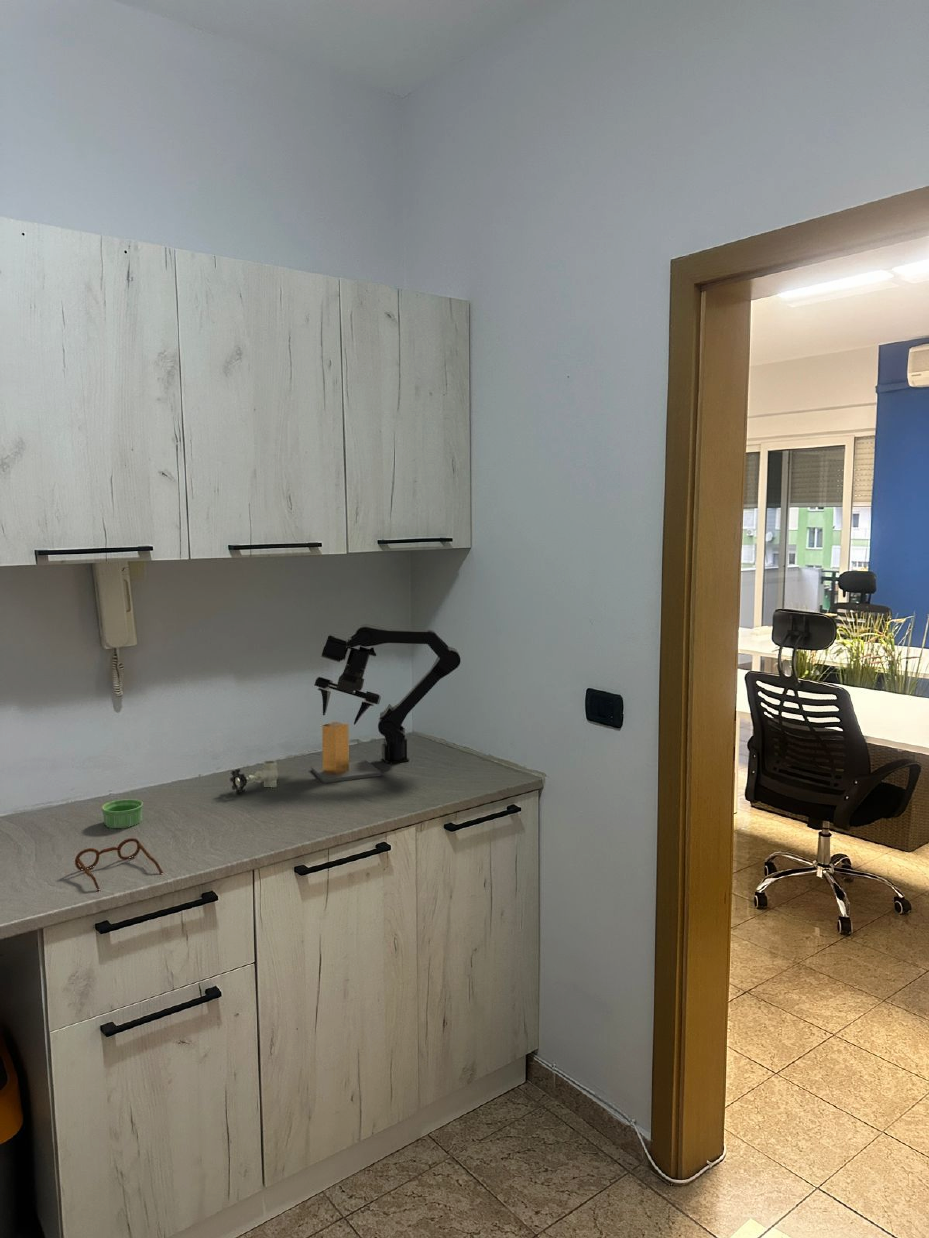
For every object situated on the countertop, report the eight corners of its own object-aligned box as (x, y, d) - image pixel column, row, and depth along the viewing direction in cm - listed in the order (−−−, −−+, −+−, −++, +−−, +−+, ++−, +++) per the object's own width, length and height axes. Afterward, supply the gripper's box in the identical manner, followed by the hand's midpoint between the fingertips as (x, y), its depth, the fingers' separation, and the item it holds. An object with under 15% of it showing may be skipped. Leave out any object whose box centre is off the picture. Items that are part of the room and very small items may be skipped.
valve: (270, 781, 239) (230, 791, 231) (269, 758, 238) (229, 766, 230) (283, 787, 234) (243, 797, 226) (283, 763, 234) (242, 772, 225)
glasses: (139, 857, 188) (138, 834, 188) (164, 876, 179) (163, 852, 178) (74, 873, 180) (73, 850, 179) (97, 895, 170) (96, 870, 169)
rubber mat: (365, 763, 256) (365, 760, 256) (381, 775, 244) (381, 772, 244) (311, 770, 249) (311, 766, 249) (324, 783, 238) (324, 779, 238)
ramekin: (98, 831, 202) (98, 812, 202) (106, 817, 211) (105, 800, 210) (140, 828, 204) (139, 810, 203) (146, 815, 213) (145, 797, 212)
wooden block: (336, 767, 249) (335, 721, 247) (348, 770, 246) (348, 724, 244) (323, 771, 245) (322, 725, 243) (335, 774, 242) (335, 728, 240)
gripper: (319, 656, 248) (302, 710, 246) (383, 675, 247) (366, 729, 245) (326, 658, 259) (309, 710, 257) (387, 677, 258) (371, 729, 256)
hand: (339, 719), depth 254 cm, fingers open, 9 cm apart
